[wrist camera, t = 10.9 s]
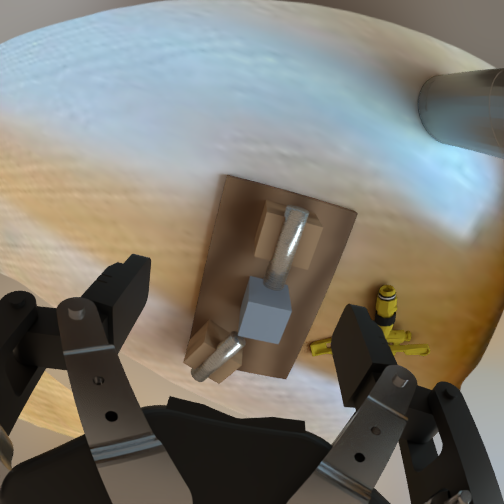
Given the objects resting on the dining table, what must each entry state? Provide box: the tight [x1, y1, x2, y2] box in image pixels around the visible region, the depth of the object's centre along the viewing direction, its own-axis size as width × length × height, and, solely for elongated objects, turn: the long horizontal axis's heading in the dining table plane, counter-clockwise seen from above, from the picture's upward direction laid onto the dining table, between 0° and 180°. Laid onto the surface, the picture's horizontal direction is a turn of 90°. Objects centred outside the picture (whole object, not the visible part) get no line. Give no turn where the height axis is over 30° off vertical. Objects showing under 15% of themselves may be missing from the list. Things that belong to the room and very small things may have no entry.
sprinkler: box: [310, 285, 430, 356], centre depth 43 cm, size 19×4×15 cm
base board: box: [183, 175, 357, 384], centre depth 39 cm, size 16×28×6 cm, turn 165°
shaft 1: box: [191, 331, 246, 382], centre depth 40 cm, size 2×9×2 cm, turn 140°
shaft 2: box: [263, 205, 309, 291], centre depth 34 cm, size 2×9×2 cm, turn 165°
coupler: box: [238, 276, 292, 344], centre depth 38 cm, size 5×5×6 cm
